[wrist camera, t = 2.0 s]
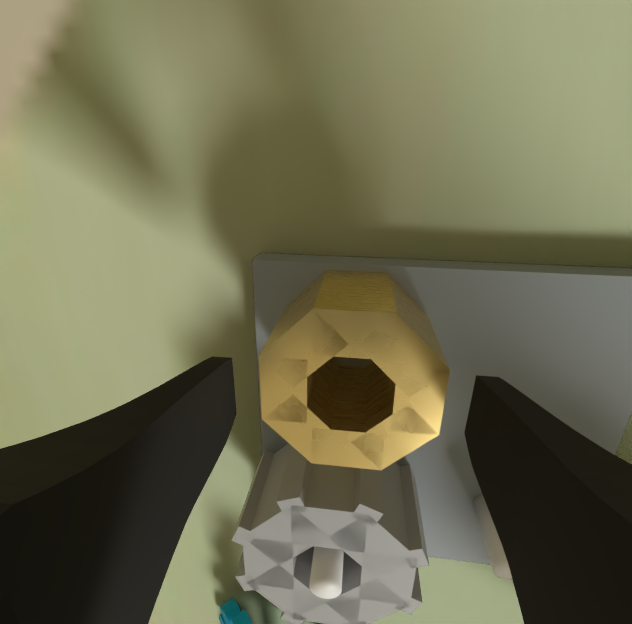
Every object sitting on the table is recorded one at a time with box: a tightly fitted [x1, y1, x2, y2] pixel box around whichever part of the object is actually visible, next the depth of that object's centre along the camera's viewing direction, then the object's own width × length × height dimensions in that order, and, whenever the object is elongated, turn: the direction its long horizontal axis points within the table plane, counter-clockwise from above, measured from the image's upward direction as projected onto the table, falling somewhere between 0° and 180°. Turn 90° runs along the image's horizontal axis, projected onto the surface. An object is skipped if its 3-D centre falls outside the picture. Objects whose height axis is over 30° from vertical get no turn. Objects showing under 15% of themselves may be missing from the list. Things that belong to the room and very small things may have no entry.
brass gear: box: [259, 270, 450, 470], centre depth 13 cm, size 6×6×4 cm
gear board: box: [232, 253, 632, 624], centre depth 15 cm, size 15×15×6 cm
